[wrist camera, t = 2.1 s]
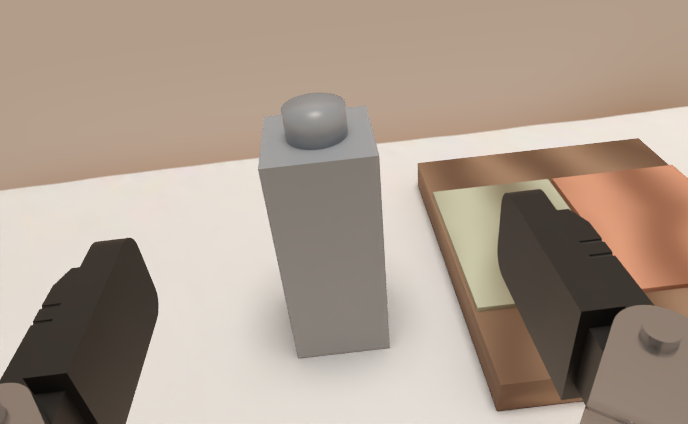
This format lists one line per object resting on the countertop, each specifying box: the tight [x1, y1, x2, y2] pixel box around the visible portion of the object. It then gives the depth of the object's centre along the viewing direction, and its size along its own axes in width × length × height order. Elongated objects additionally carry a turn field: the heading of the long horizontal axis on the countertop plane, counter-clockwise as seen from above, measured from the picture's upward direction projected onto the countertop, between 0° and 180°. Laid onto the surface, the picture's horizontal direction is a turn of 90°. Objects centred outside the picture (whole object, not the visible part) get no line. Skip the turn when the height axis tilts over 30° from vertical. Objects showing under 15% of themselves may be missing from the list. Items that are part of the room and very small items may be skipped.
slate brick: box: [258, 93, 390, 358], centre depth 27 cm, size 5×5×13 cm
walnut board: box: [418, 139, 688, 411], centre depth 33 cm, size 17×20×2 cm
